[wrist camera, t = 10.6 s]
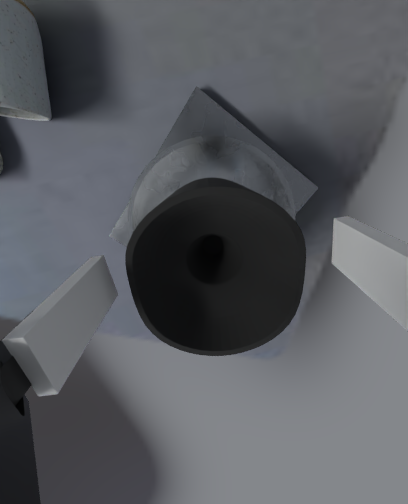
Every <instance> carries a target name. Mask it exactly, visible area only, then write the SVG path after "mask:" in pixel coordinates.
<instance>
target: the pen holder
mask: <svg viewBox="0 0 408 504" xmlns="http://www.w3.org/2000/svg"><path fill="white" fill-rule="evenodd" d="M305 263H306V247H305V241H304V237H303V234H302V232H301V229H300V228H299V226H298V225H297V223H296V221H295V220H294V219H293V218H292V217H291V216H290V215H289V214H288V212H287V211H285V210H284V209H283V208H282V207H280V206H279V205H278V204H277V203H275V202H273V201H272V200H270V199H268V198H267V197H265V196H263V195H261V194H259V193H257V192H255V191H253V190H251V189H249V188H246V187H244V186H242V185H240V184H238V183H235V182H233V181H230V180H227V179H223V178H215V177H210V178H201V179H198V180H194V181H192V182H190V183H187V184H186V185H184V186H182V187H181V188H179V189H178V190H176V191H175V192H174V193H172V194H171V195H170V196H169V197H167V198H166V199H165V200H164V201H162V202H161V203H160V204H159V205H157V206H156V207H155V208H154V209H153V210H152V211H150V212H149V213H148V214H147V215H146V216H145V217H144V218H143V220H142V221H141V222H140V223H139V224H138V226H137V227H136V229H135V230H134V232H133V233H132V235H131V237H130V240H129V242H128V245H127V250H126V270H127V276H128V280H129V285H130V289H131V293H132V296H133V299H134V302H135V305H136V307H137V310H138V312H139V315H140V317H141V318H142V320H143V322H144V324H145V325H146V326H147V328H148V329H149V330H150V331H151V332H152V333H153V334H154V335H155V336H156V337H157V338H159V339H160V340H161V341H163V342H164V343H166V344H168V345H170V346H172V347H174V348H177V349H179V350H182V351H186V352H189V353H193V354H199V355H208V356H224V355H232V354H237V353H242V352H245V351H248V350H251V349H254V348H257V347H259V346H261V345H263V344H265V343H267V342H269V341H270V340H272V339H274V338H275V337H276V336H277V335H279V334H280V333H281V332H282V331H283V330H284V329H285V328H286V327H287V326H288V325H289V324H290V322H291V320H292V319H293V317H294V316H295V314H296V311H297V309H298V306H299V303H300V299H301V295H302V291H303V284H304V276H305Z"/></svg>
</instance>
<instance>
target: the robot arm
mask: <svg viewBox="0 0 408 504" xmlns="http://www.w3.org/2000/svg"><path fill="white" fill-rule="evenodd" d="M332 264H333V265H334V266H335V267H337V268H338V269H339V270H340V271H341V272H342V273H343V274H344V275H345V276H347V277H348V278H349V279H350V280H351V281H352V282H353V283H354V284H356V285H357V286H358V287H359V288H360V289H361V290H362V291H363V292H364V293H366V294H367V295H368V296H369V297H370V298H371V299H372V300H373V301H374V302H376V303H377V304H378V305H379V306H380V307H381V308H382V309H383V310H384V311H386V312H387V313H388V314H389V315H390V316H391V317H392V318H393V319H395V320H396V321H397V322H398V323H399V324H400V325H401V326H402V327H403V328H405V329H406V330H407V331H408V243H406V242H404V241H401V240H399V239H397V238H395V237H393V236H391V235H388V234H386V233H384V232H382V231H380V230H378V229H375V228H373V227H371V226H369V225H367V224H365V223H362V222H360V221H358V220H356V219H354V218H352V217H349V216H345V217H338V218H334V223H333V246H332ZM117 296H118V293H117V290H116V287H115V285H114V282H113V279H112V277H111V274H110V271H109V269H108V266H107V263H106V260H105V258H104V255H101V256H95V257H91V258H90V259H88V260H87V261H86V262H85V263H84V264H83V265H82V266H81V267H80V268H79V269H78V270H77V271H76V272H75V273H73V274H72V275H71V276H70V277H69V278H68V279H67V280H66V281H65V282H64V283H63V284H62V285H61V286H59V287H58V288H57V289H56V290H55V291H54V292H53V293H52V294H51V295H50V296H49V297H48V298H47V299H45V300H44V301H43V302H42V303H41V304H40V305H39V306H38V307H37V308H36V309H35V310H33V311H32V312H31V313H30V314H29V315H28V316H27V317H26V318H24V320H23V321H21V322H20V323H19V324H18V325H17V326H16V327H15V328H14V329H13V330H12V331H10V332H9V333H8V334H7V335H6V336H5V337H4V338H3V339H2V340H1V341H0V504H41V503H40V494H39V485H38V477H37V469H36V459H35V452H34V442H33V434H32V425H31V417H30V408H29V401H28V399H27V398H26V396H25V395H24V394H25V393H26V391H27V390H28V389H29V387H30V386H32V387H33V389H34V390H35V392H36V393H37V395H38V396H46V395H54V394H58V393H59V391H60V389H61V388H62V386H63V384H64V383H65V381H66V379H67V378H68V376H69V375H70V373H71V371H72V370H73V368H74V366H75V365H76V363H77V361H78V360H79V358H80V356H81V355H82V353H83V352H84V350H85V348H86V347H87V345H88V343H89V342H90V340H91V338H92V337H93V335H94V333H95V332H96V330H97V329H98V327H99V325H100V324H101V322H102V320H103V319H104V317H105V315H106V314H107V312H108V310H109V309H110V307H111V305H112V304H113V302H114V301H115V299H116V297H117Z"/></svg>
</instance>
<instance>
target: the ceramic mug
mask: <svg viewBox="0 0 408 504" xmlns="http://www.w3.org/2000/svg"><path fill="white" fill-rule="evenodd" d="M0 116H5V117H11V118H21V119H27V120H37V121H39V120H40V121H48V120H51V118H52V114H51V108H50V101H49V94H48V86H47V78H46V71H45V65H44V56H43V47H42V40H41V36H40V33H39V29H38V25H37V22H36V19H35V17H34V15H33V13H32V12H31V11H30V9H29V8H28V7H27V6H26V5H25V3H24V2H22V1H21V0H0Z"/></svg>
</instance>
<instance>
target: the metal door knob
mask: <svg viewBox="0 0 408 504" xmlns="http://www.w3.org/2000/svg"><path fill="white" fill-rule="evenodd" d="M210 177H215V178H223V179H227V180H230V181H233V182H235V183H238V184H240V185H242V186H244V187H246V188H249V189H251V190H253V191H255V192H257V193H259V194H261V195H263V196H265V197H267V198H268V199H270V200H272V201H273V202H275V203H277V204H278V205H279V206H280V207H282V208H283V209H284V210H285V211H287V212H288V214H289V215H290V216H291V217H292V218H293V219H294V220H295V215H296V214H297V212H298V211H299V210H300V209H301V208H302V207H303V205H304V204H305V203H306V202H307V201H308V200H309V199H310V197H311V196H312V195H313V194H314V193H315V192H316V190H317V189H318V187H317V186H316V185H315V184H313V183H312V182H311V181H310V180H309V179H307V178H306V177H305V176H304V175H303V174H301V173H300V172H299V171H298V170H297V169H295V168H294V167H293V166H292V165H291V164H289V163H288V162H287V161H286V160H285V159H283V158H282V157H281V156H280V155H279V154H277V153H276V152H275V151H274V150H273V149H271V148H270V147H269V146H268V145H267V144H265V143H264V142H263V141H262V140H260V139H259V138H258V137H257V136H256V135H254V134H253V133H252V132H251V131H250V130H248V129H247V128H246V127H245V126H244V125H242V124H241V123H240V122H239V121H238V120H236V119H235V118H234V117H233V116H232V115H230V114H229V113H228V112H227V111H226V110H224V109H223V108H222V107H221V106H220V105H218V104H217V103H216V102H215V101H214V100H212V99H211V98H210V97H209V96H208V95H206V94H205V93H204V92H203V91H202V90H200V89H199V88H198V87H197V86H196V88H195V90H194V91H193V93H192V95H191V97H190V98H189V100H188V102H187V103H186V105H185V107H184V109H183V110H182V112H181V114H180V115H179V117H178V119H177V121H176V122H175V124H174V126H173V127H172V129H171V131H170V133H169V134H168V136H167V138H166V139H165V141H164V143H163V145H162V146H161V148H160V150H159V151H158V153H157V155H156V157H155V158H154V159H153V160H152V161H151V162H150V163H149V164H148V165H147V166H146V167H145V169H144V170H143V172H142V173H141V175H140V176H139V177H138V179H137V181H136V184H135V186H134V188H133V190H132V194H131V197H130V200H129V203H128V205H127V206H126V208H125V210H124V211H123V213H122V215H121V217H120V218H119V220H118V222H117V223H116V225H115V227H114V229H113V230H112V232H111V234H110V235H109V237H111V238H113V239H114V240H116V241H118V242H119V243H121V244H122V245H124V246H126V247H127V245H128V242H129V240H130V237H131V235H132V233H133V232H134V230H135V229H136V227H137V226H138V224H139V223H140V222H141V221H142V220H143V218H144V217H145V216H146V215H147V214H148V213H149V212H150V211H152V210H153V209H154V208H155V207H156V206H157V205H159V204H160V203H161V202H162V201H164V200H165V199H166V198H167V197H169V196H170V195H171V194H172V193H174V192H175V191H176V190H178V189H179V188H181V187H182V186H184V185H186V184H187V183H190V182H192V181H194V180H198V179H201V178H210Z"/></svg>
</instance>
